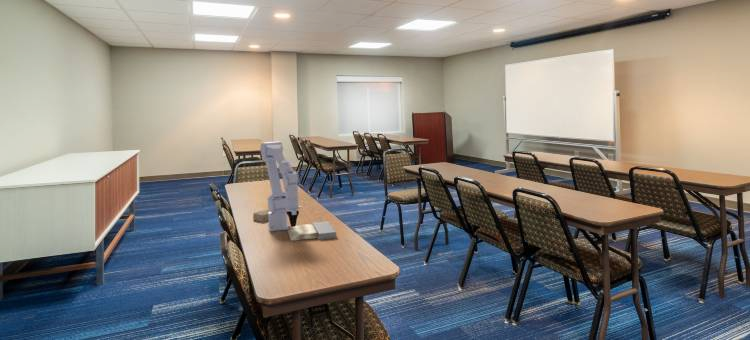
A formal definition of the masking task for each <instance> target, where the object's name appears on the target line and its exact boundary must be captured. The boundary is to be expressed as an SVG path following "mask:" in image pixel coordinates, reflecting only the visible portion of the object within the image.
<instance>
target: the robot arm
mask: <svg viewBox="0 0 750 340" xmlns="http://www.w3.org/2000/svg"><path fill="white" fill-rule="evenodd" d="M283 150H284V145H283V143H282V142H281V141H280V140H279V141H268V142H267V141H266V142H264V141H262V142H261V144H260V155H261V158H262V160H263V161H264V162H265V164H266V169H267V174H268V175H267V176H268V180H269V183H270V188H271V193H270V195H268V197H267V206H268V207H267V208H268V209H269V210H270V211H271V212H268V229H269V232H279V231H285V230H286V231H288V226H291V227H294V226H296V225H297V221H298V220H297V219H298V217H299V214H300V212H299V210H300V209H302V206H301V205H299V187H298V185H299V183H300V181H301V180H300V179H301V178H300V175H299V173H298V171H296V170H294V169H293V168H292V166H291V164H290V162H289V161H286V158H285V155H284V154H283ZM277 164H278V165H277ZM277 166H278V167H277ZM279 172H280V175H281V176H282V183H283V188H284V191H283V189H282V185H281V179H280V175H279ZM288 221H289V225H288Z"/></svg>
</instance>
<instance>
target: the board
mask: <svg viewBox="0 0 750 340" xmlns="http://www.w3.org/2000/svg"><path fill="white" fill-rule="evenodd" d="M311 224H312V225H313V226H314V228H315V230H316V231H317V237H318V238H317V239H318V240H326V239H336V238H337V231H336V230H335V229H334V227H333V226H332V224H330V222H329V221H328V220H326V221H318V222H316V221H315V222H311Z"/></svg>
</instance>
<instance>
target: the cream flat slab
mask: <svg viewBox="0 0 750 340" xmlns="http://www.w3.org/2000/svg"><path fill="white" fill-rule="evenodd" d="M287 232H288V235H289V238H290V241H291V242H293V241H300V240H301V241H302V240H309V239H319V238H318V237H317V231H316V230H315V228H314V226H313V225H312V223H310V224H309V223H308V224H307V223H306V224H299V225H297V224H296V226H294V227H291V225H288V230H287Z"/></svg>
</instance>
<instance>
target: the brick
mask: <svg viewBox="0 0 750 340" xmlns="http://www.w3.org/2000/svg"><path fill="white" fill-rule="evenodd" d="M268 212H271V211H270V210H269V208H268V209H263V210H260V211H256V212H253V214H252V220H253V221H256V222H259V223H264V222H269V220H268Z"/></svg>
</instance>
